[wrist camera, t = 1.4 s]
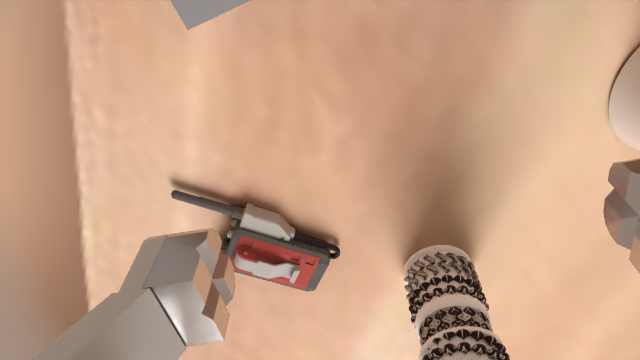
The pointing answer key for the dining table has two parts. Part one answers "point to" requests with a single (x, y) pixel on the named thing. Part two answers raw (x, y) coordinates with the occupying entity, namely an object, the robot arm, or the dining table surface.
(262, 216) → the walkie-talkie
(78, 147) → the dining table surface
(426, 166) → the dining table surface
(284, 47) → the dining table surface
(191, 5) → the chassis deck
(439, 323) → the white patterned cylinder
